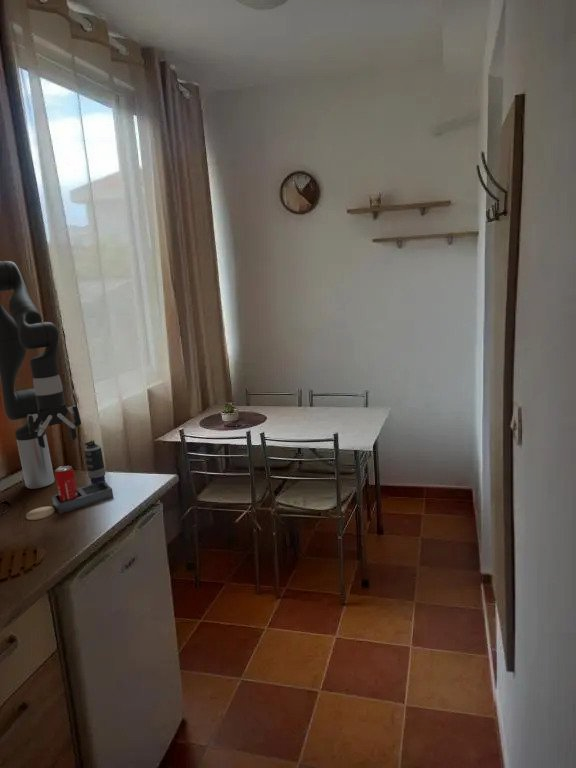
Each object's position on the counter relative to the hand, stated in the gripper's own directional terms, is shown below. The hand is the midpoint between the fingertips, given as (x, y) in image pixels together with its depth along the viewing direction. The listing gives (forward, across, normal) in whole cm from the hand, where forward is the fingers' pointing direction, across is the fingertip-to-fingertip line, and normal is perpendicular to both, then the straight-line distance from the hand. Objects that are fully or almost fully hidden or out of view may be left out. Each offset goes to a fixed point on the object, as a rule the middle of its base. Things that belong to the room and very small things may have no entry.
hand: (58, 443), depth 162 cm
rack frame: (+20, -4, 0) cm, 20 cm away
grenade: (+20, -12, -13) cm, 27 cm away
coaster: (+20, +8, 0) cm, 22 cm away
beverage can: (+20, 0, 0) cm, 20 cm away
